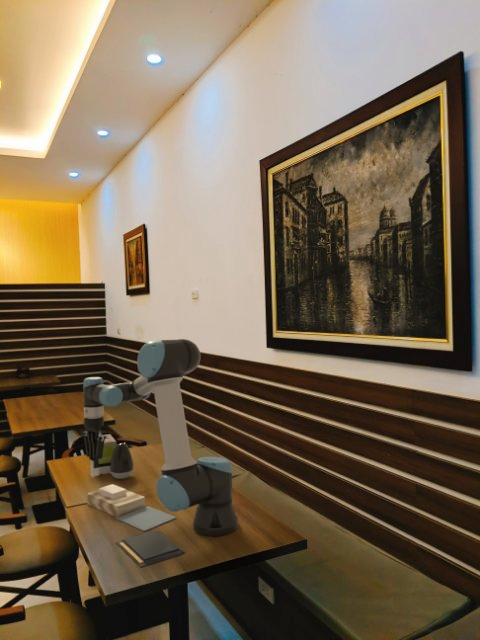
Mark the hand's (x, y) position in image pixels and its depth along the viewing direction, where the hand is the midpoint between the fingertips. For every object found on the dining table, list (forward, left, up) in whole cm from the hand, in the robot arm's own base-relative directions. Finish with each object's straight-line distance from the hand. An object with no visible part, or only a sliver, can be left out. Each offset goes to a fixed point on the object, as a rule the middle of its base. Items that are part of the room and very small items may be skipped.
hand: (94, 475), depth 200 cm
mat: (-33, 0, -9) cm, 34 cm away
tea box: (+28, -22, -9) cm, 36 cm away
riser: (-14, 0, -9) cm, 17 cm away
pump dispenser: (+12, -21, -9) cm, 26 cm away
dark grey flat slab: (-51, +13, -9) cm, 54 cm away
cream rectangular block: (-12, 0, -5) cm, 13 cm away
